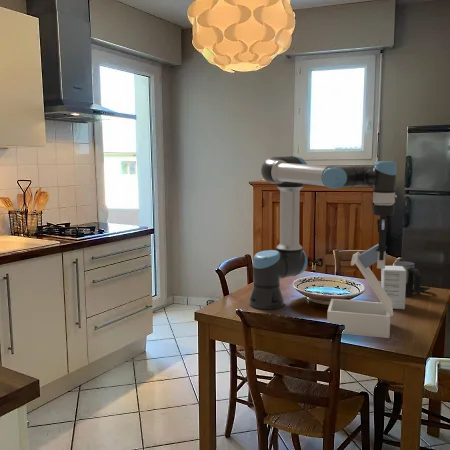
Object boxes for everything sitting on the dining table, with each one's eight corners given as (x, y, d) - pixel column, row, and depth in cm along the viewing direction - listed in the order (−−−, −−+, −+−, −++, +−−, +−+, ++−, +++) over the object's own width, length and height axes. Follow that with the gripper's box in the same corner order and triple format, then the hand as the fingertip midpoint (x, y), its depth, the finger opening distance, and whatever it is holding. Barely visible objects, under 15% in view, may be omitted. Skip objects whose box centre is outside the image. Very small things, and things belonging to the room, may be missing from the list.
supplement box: (405, 309, 199) (407, 270, 197) (382, 308, 201) (383, 270, 199) (401, 302, 208) (403, 265, 206) (379, 301, 210) (381, 264, 208)
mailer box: (327, 331, 175) (327, 311, 174) (331, 317, 190) (331, 298, 189) (389, 338, 169) (390, 316, 167) (388, 322, 184) (389, 303, 182)
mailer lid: (350, 264, 169) (379, 247, 165) (352, 254, 184) (379, 239, 180) (387, 318, 168) (416, 303, 164) (386, 304, 183) (413, 290, 179)
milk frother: (388, 293, 222) (390, 263, 220) (404, 287, 232) (405, 257, 230) (418, 300, 212) (420, 268, 209) (433, 293, 222) (435, 262, 220)
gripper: (395, 206, 161) (392, 273, 165) (394, 202, 177) (391, 263, 180) (372, 206, 164) (369, 271, 167) (373, 201, 179) (370, 261, 182)
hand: (380, 267), depth 174 cm, fingers closed on mailer lid, 3 cm apart
